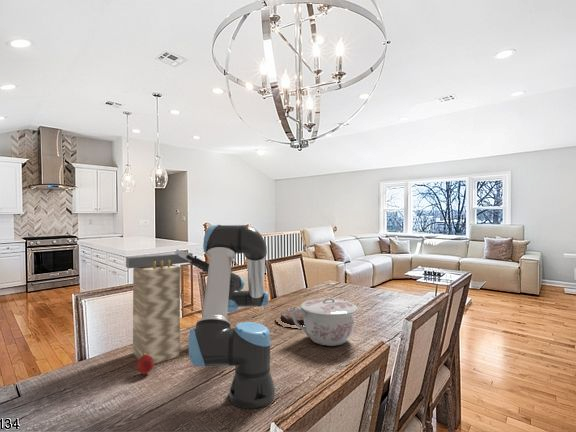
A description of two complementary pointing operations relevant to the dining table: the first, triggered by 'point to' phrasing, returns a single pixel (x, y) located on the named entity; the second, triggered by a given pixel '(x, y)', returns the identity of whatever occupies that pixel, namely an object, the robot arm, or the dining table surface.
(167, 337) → the shelf stand
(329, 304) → the chamber pot
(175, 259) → the bar
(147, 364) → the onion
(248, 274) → the robot arm
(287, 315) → the chocolate cake
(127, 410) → the dining table surface
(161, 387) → the dining table surface
